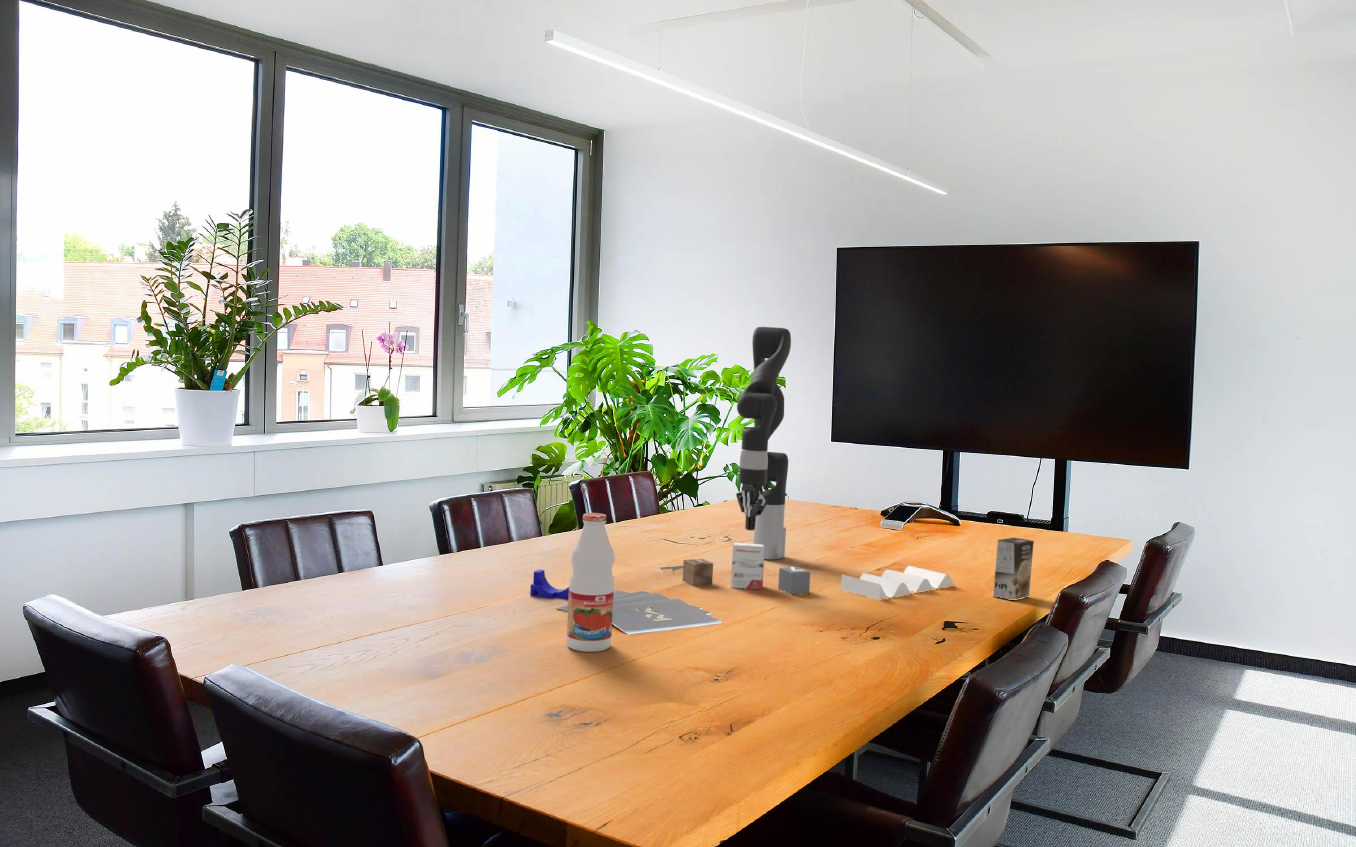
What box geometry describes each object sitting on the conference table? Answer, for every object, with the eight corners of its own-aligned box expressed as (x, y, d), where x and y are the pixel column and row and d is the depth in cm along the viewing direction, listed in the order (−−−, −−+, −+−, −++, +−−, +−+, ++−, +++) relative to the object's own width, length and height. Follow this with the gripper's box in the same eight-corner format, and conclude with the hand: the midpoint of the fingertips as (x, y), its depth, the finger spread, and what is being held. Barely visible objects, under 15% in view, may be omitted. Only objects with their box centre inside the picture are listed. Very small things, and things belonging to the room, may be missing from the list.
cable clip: (530, 596, 248) (531, 572, 248) (538, 592, 252) (539, 569, 252) (574, 602, 244) (575, 578, 244) (581, 598, 249) (582, 574, 248)
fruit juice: (602, 638, 214) (608, 510, 212) (617, 651, 206) (623, 518, 204) (560, 641, 210) (566, 511, 209) (574, 654, 202) (580, 518, 200)
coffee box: (1014, 602, 268) (1018, 543, 267) (992, 597, 273) (996, 539, 272) (1029, 597, 275) (1034, 540, 274) (1008, 592, 279) (1012, 536, 278)
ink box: (762, 586, 272) (765, 543, 271) (762, 590, 267) (764, 547, 266) (731, 583, 273) (733, 541, 272) (730, 587, 268) (732, 544, 267)
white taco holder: (955, 588, 284) (956, 570, 284) (878, 603, 262) (880, 584, 261) (917, 579, 294) (918, 561, 294) (840, 592, 272) (841, 574, 271)
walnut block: (701, 579, 276) (702, 557, 275) (712, 584, 270) (713, 562, 270) (682, 581, 273) (683, 558, 272) (692, 586, 268) (694, 563, 267)
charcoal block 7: (796, 588, 271) (797, 565, 271) (809, 593, 266) (810, 570, 266) (778, 589, 269) (779, 566, 268) (790, 595, 263) (792, 571, 263)
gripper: (778, 469, 263) (774, 533, 265) (752, 463, 275) (748, 525, 276) (754, 469, 260) (751, 535, 261) (729, 463, 271) (725, 526, 273)
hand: (749, 529), depth 269 cm, fingers closed
